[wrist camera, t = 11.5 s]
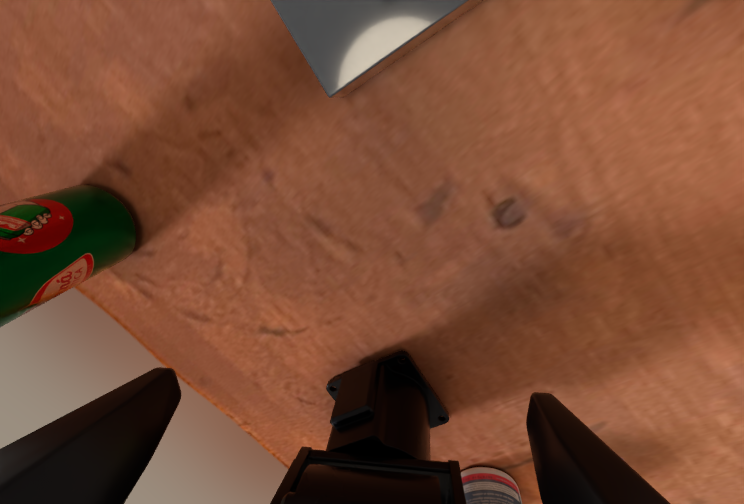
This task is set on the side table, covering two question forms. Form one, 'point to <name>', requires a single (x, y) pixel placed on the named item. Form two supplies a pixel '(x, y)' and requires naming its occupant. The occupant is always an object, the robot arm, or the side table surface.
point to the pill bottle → (489, 487)
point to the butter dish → (362, 34)
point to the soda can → (58, 244)
